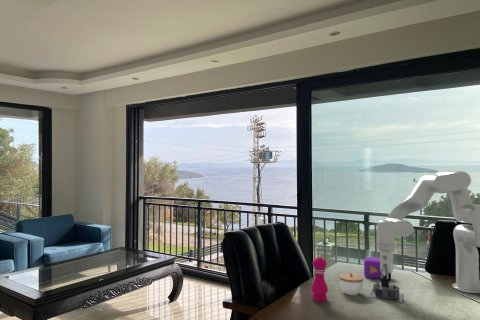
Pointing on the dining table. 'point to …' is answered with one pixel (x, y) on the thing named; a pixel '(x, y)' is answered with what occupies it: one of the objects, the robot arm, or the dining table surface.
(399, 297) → the lens barrel
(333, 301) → the dining table surface
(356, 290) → the lidded jar
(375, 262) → the toy camera
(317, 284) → the pepper mill
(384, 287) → the grey rounded dome
